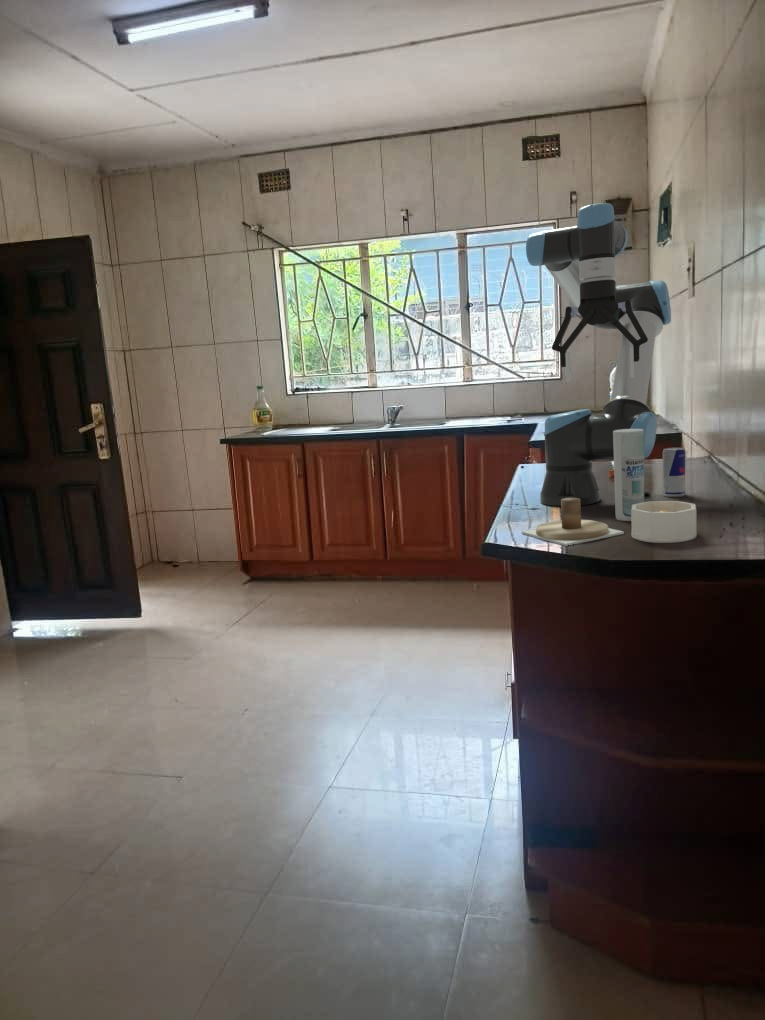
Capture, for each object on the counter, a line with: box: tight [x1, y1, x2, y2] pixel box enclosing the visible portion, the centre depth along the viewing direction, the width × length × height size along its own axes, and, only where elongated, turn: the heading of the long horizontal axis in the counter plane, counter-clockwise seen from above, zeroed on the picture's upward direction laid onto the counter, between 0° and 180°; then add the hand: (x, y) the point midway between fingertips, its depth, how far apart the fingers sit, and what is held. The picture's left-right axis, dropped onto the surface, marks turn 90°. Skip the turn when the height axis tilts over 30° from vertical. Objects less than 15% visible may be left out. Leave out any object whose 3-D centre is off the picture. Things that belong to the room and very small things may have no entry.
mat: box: [521, 527, 625, 547], centre depth 160 cm, size 15×15×1 cm
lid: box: [535, 498, 609, 540], centre depth 159 cm, size 15×15×7 cm
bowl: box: [630, 500, 698, 544], centre depth 152 cm, size 12×12×6 cm
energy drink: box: [662, 447, 687, 498], centre depth 190 cm, size 5×5×12 cm
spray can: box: [613, 429, 645, 522], centre depth 168 cm, size 6×6×20 cm
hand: (600, 379), depth 166 cm, fingers open, 13 cm apart
